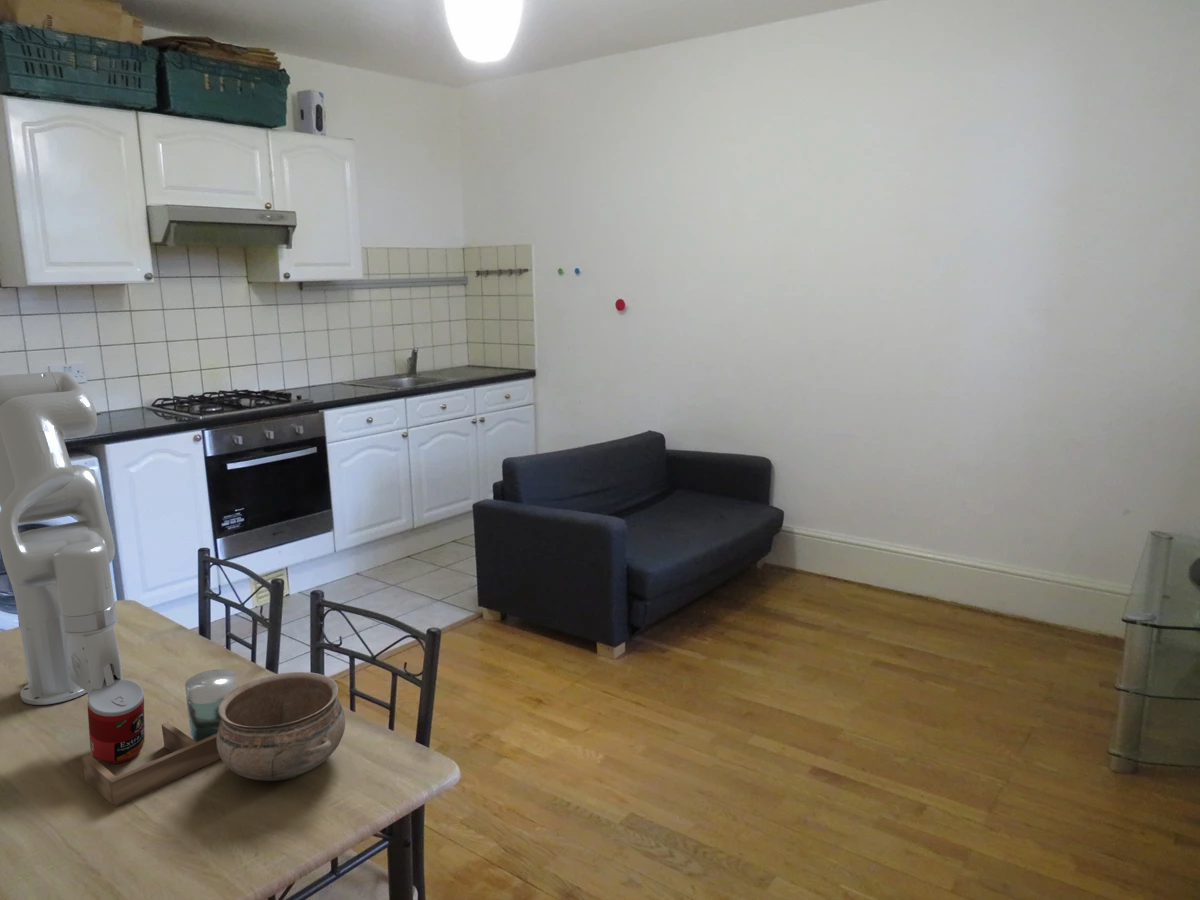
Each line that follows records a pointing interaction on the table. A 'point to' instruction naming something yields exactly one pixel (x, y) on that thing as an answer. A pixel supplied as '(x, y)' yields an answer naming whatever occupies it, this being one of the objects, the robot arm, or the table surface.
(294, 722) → the cooking pot
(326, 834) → the table surface
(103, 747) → the canned food
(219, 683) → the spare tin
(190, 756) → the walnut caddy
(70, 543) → the robot arm
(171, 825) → the table surface
